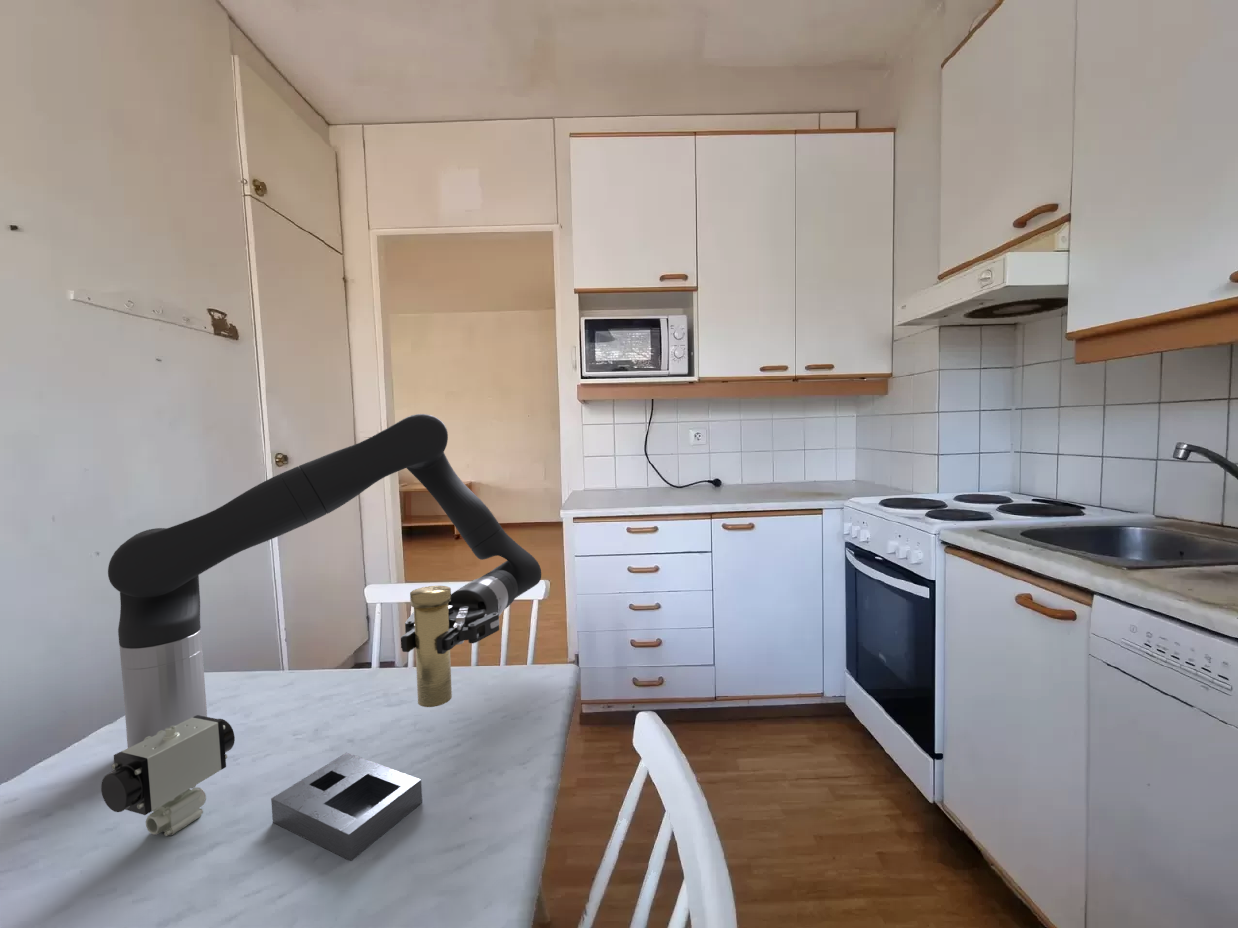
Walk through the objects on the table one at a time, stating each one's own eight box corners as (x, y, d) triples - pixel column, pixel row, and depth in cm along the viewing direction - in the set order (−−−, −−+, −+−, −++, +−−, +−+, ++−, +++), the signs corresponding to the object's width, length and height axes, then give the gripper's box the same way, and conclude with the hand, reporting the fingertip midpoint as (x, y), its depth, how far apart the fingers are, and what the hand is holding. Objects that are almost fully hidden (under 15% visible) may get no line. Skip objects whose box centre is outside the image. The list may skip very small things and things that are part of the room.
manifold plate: (272, 822, 63) (271, 798, 63) (348, 773, 72) (346, 752, 72) (350, 860, 57) (348, 834, 57) (422, 802, 66) (421, 779, 66)
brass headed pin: (406, 703, 71) (401, 594, 70) (435, 686, 76) (431, 583, 75) (434, 711, 69) (430, 598, 68) (462, 694, 73) (458, 587, 72)
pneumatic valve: (240, 795, 68) (233, 705, 68) (133, 865, 57) (124, 759, 57) (209, 787, 70) (203, 700, 69) (100, 855, 59) (91, 751, 58)
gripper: (436, 580, 87) (370, 615, 70) (518, 582, 84) (472, 619, 67) (437, 625, 87) (373, 671, 70) (520, 628, 85) (474, 676, 68)
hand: (422, 645), depth 69 cm, fingers closed on brass headed pin, 4 cm apart
